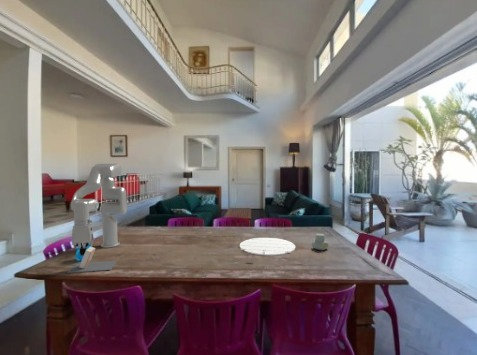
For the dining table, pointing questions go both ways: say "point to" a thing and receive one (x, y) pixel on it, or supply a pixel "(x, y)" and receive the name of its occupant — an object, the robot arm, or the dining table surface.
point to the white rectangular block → (87, 257)
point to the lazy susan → (267, 246)
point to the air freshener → (319, 242)
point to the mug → (78, 255)
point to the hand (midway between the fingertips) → (83, 254)
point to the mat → (93, 267)
